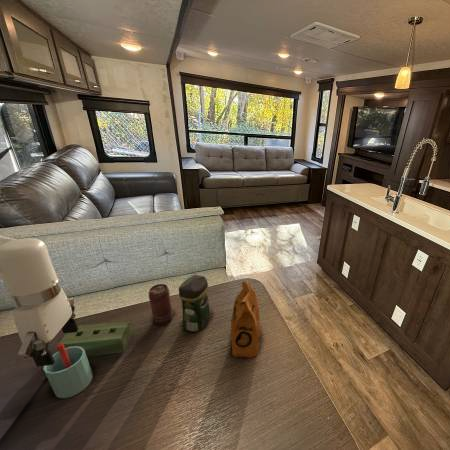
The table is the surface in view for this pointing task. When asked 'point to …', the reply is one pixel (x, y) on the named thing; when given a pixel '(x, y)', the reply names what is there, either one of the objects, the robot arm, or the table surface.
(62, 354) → the straw
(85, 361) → the tumbler
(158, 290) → the can
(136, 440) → the table surface
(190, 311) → the coffee jar
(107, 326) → the straw holder
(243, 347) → the coffee package
